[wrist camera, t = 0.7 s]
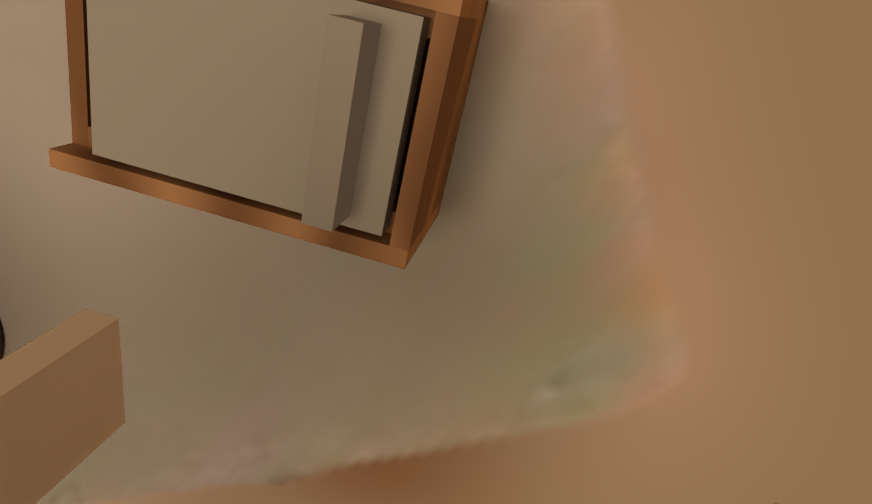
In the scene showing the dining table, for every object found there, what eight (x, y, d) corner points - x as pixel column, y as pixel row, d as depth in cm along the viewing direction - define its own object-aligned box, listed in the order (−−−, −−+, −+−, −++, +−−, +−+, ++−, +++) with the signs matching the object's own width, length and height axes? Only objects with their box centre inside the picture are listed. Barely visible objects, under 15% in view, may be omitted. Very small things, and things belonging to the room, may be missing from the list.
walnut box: (158, 136, 38) (50, 166, 30) (161, -78, 33) (29, -113, 24) (438, 214, 36) (404, 269, 28) (488, 0, 31) (465, -10, 23)
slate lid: (113, 148, 30) (53, 164, 27) (108, -61, 26) (36, -76, 23) (389, 226, 29) (365, 255, 25) (430, 17, 25) (409, 15, 21)
